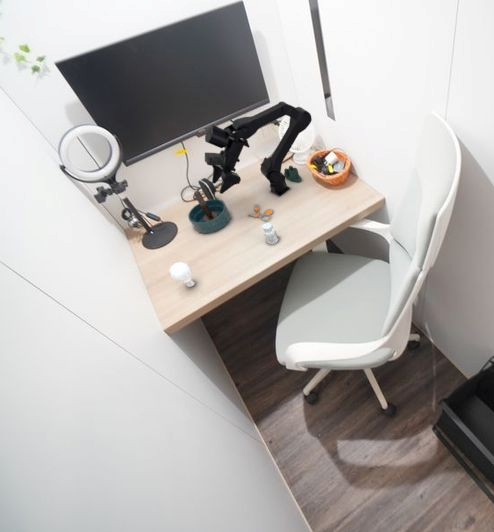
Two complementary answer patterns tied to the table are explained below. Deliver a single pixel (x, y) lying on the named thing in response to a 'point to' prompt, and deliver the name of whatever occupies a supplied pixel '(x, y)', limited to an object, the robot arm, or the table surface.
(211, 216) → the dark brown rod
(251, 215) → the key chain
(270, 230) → the pill bottle
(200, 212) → the bowl
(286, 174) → the dark green lumpy piece
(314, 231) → the table surface
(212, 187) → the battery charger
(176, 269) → the lightbulb
